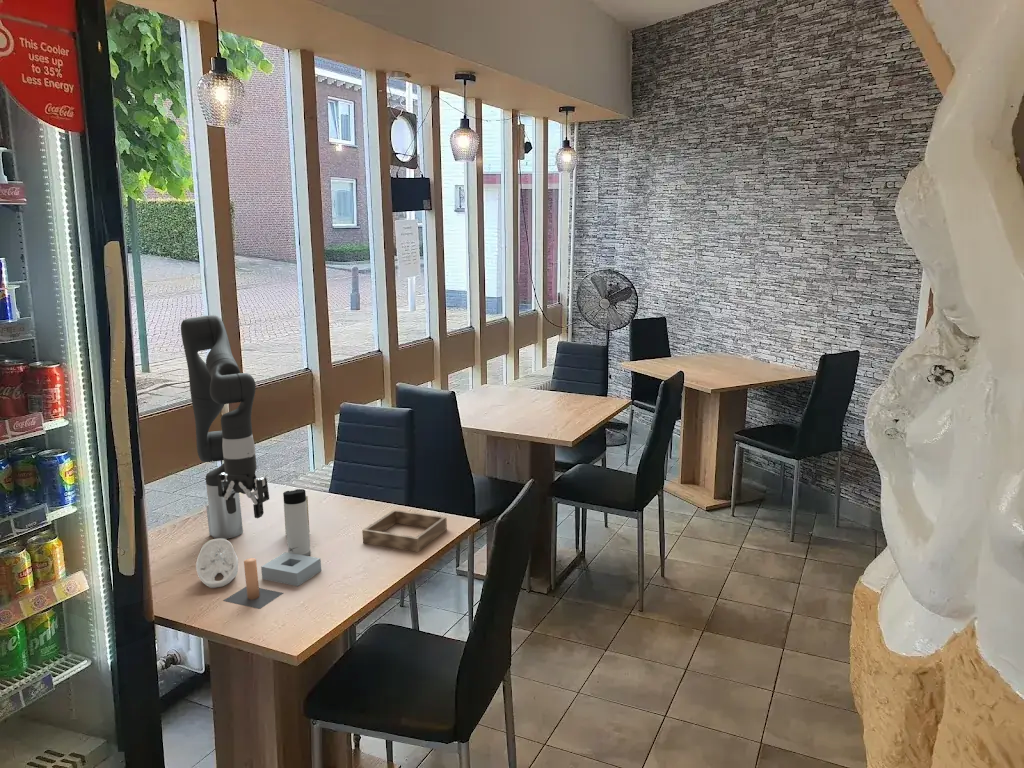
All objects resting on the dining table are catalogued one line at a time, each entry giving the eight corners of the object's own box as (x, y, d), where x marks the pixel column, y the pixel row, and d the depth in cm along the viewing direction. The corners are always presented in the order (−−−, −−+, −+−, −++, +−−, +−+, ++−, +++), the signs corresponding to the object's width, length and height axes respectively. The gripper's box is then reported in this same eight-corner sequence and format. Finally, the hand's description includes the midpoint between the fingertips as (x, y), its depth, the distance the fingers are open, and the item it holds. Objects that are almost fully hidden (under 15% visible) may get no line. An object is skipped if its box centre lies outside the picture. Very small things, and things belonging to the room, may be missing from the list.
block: (262, 580, 208) (261, 566, 207) (286, 565, 217) (285, 552, 216) (298, 587, 203) (296, 573, 202) (321, 571, 212) (320, 558, 211)
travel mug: (291, 561, 219) (285, 495, 215) (286, 553, 225) (280, 488, 221) (313, 556, 222) (307, 491, 218) (307, 548, 228) (302, 484, 224)
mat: (223, 602, 196) (222, 600, 196) (247, 586, 204) (247, 585, 204) (260, 610, 192) (259, 608, 191) (283, 594, 200) (283, 592, 200)
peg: (244, 598, 197) (241, 562, 195) (253, 593, 200) (249, 557, 198) (254, 600, 196) (250, 563, 194) (262, 595, 199) (258, 559, 197)
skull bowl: (243, 558, 219) (237, 533, 211) (241, 601, 209) (235, 576, 201) (204, 562, 217) (197, 536, 208) (200, 606, 207) (192, 581, 199)
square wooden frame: (363, 542, 231) (362, 530, 230) (394, 521, 247) (394, 509, 247) (417, 551, 224) (417, 538, 223) (446, 529, 240) (446, 517, 239)
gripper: (206, 454, 189) (212, 516, 193) (251, 460, 184) (257, 524, 187) (228, 446, 196) (234, 506, 199) (272, 451, 191) (277, 513, 194)
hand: (245, 515), depth 193 cm, fingers open, 8 cm apart
